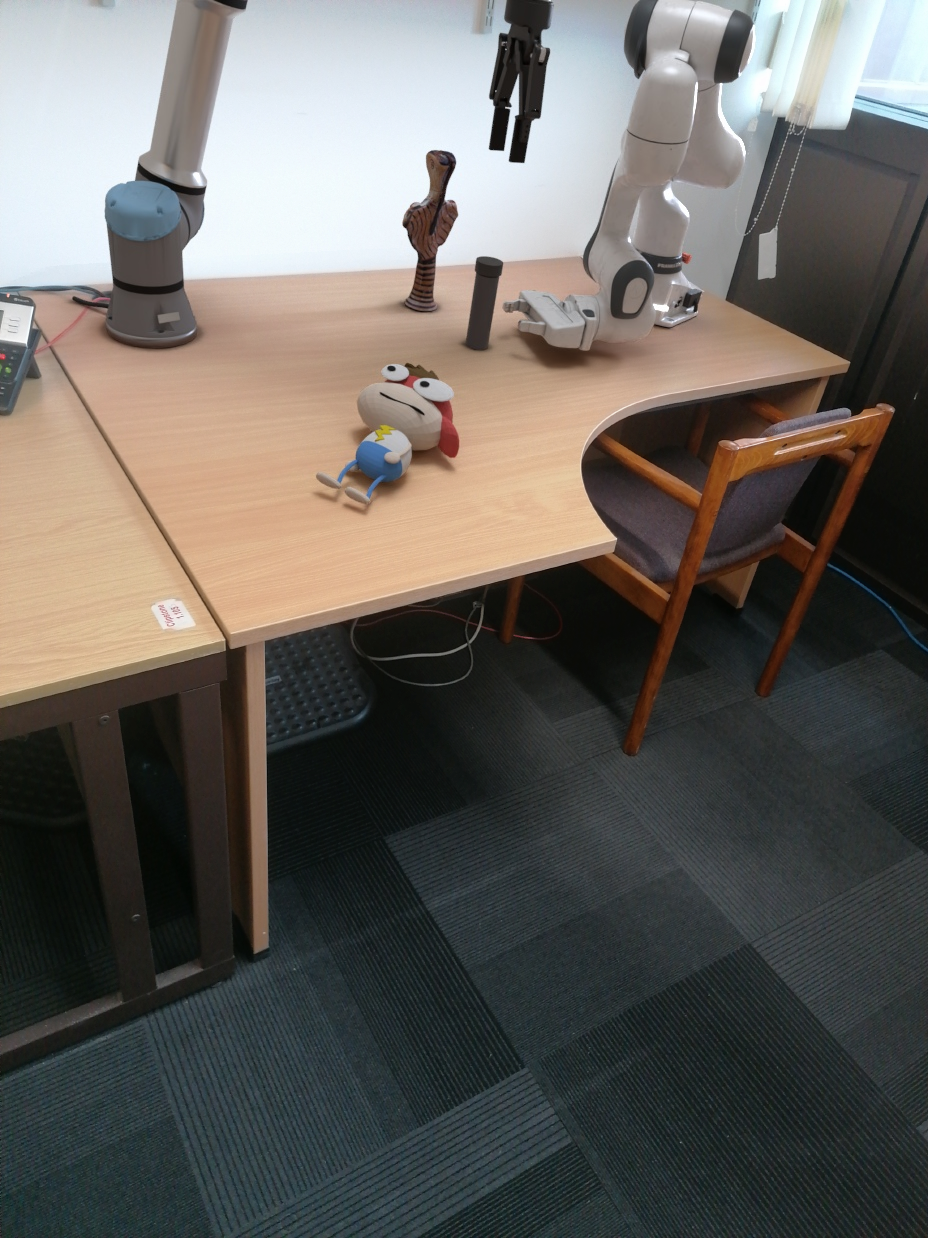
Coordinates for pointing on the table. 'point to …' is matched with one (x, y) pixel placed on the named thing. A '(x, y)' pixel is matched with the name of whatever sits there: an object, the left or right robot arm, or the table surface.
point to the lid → (488, 266)
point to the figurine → (430, 227)
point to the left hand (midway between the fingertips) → (506, 155)
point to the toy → (399, 425)
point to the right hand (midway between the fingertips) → (511, 315)
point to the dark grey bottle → (481, 312)
